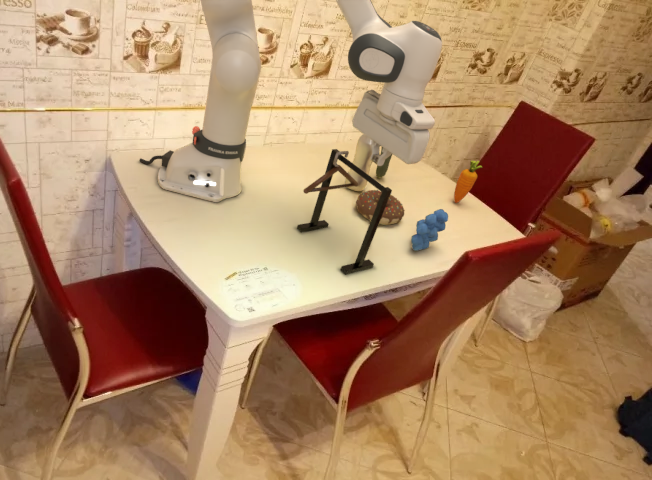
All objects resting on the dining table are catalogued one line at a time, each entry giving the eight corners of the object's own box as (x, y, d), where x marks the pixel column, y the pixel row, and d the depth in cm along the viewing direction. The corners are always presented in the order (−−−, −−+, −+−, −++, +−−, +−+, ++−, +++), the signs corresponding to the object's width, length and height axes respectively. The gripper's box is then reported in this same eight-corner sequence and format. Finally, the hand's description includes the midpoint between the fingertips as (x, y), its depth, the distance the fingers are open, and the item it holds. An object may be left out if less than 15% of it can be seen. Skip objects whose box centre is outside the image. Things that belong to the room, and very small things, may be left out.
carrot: (457, 198, 169) (477, 156, 160) (466, 207, 166) (487, 164, 157) (445, 198, 167) (465, 156, 158) (453, 206, 164) (474, 163, 155)
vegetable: (382, 183, 166) (405, 123, 154) (369, 179, 166) (391, 119, 154) (384, 177, 170) (406, 119, 158) (371, 173, 170) (392, 115, 158)
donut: (391, 205, 155) (397, 190, 152) (406, 230, 145) (412, 215, 142) (346, 199, 152) (352, 183, 149) (358, 224, 141) (364, 208, 138)
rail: (345, 275, 121) (376, 193, 108) (296, 228, 132) (318, 149, 119) (372, 267, 126) (405, 188, 113) (323, 223, 137) (347, 147, 124)
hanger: (304, 194, 120) (316, 155, 114) (301, 192, 121) (312, 152, 115) (358, 187, 130) (371, 150, 124) (355, 185, 131) (368, 148, 125)
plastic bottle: (363, 196, 156) (386, 133, 144) (341, 189, 156) (362, 126, 144) (364, 187, 161) (386, 125, 149) (344, 180, 161) (364, 119, 149)
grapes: (421, 236, 144) (439, 198, 137) (440, 249, 140) (459, 211, 133) (395, 244, 137) (412, 205, 130) (414, 258, 134) (432, 219, 126)
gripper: (357, 86, 117) (338, 143, 125) (421, 125, 105) (396, 185, 113) (376, 86, 120) (357, 142, 128) (441, 125, 108) (415, 183, 117)
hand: (376, 162), depth 121 cm, fingers closed
